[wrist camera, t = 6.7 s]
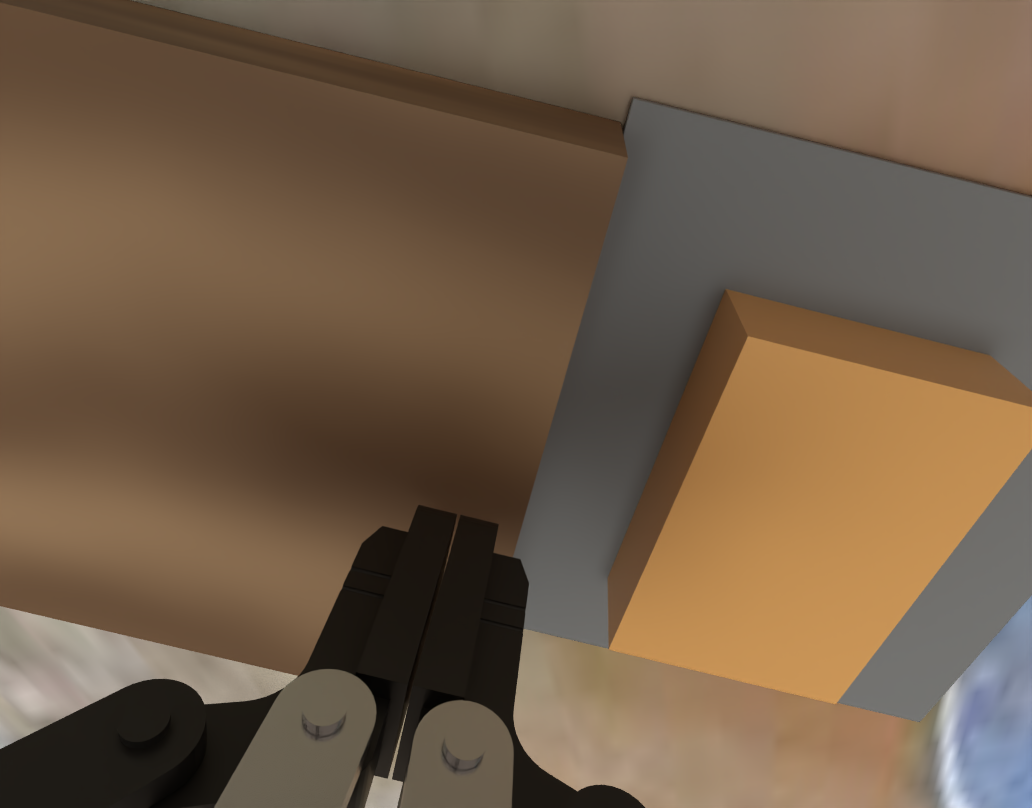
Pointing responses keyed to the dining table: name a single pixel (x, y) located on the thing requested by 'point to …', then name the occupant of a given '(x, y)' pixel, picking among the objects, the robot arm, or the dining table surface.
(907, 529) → the orange rectangular block
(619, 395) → the mat
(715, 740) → the dining table surface
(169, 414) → the wooden block
